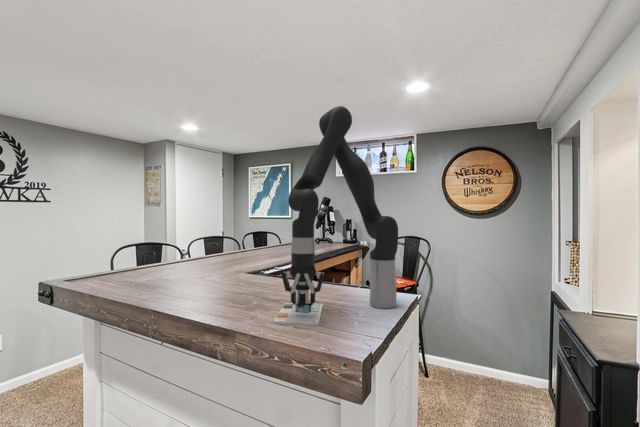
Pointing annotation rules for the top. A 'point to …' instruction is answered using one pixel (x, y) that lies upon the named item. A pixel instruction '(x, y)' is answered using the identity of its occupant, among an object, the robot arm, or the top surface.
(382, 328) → the top surface
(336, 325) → the top surface
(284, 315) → the board
